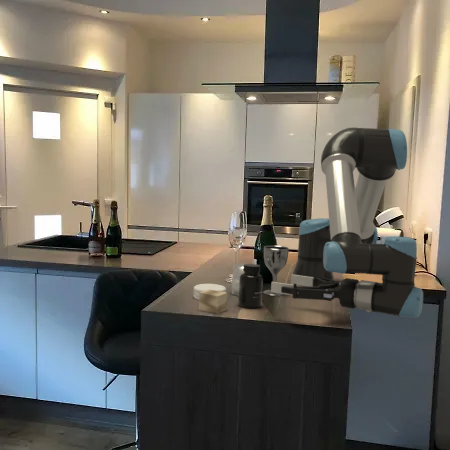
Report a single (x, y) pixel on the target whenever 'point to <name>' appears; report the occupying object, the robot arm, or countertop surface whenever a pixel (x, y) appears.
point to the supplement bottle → (250, 287)
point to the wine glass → (275, 262)
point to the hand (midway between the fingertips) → (282, 282)
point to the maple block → (213, 301)
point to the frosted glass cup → (236, 278)
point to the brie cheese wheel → (205, 287)
